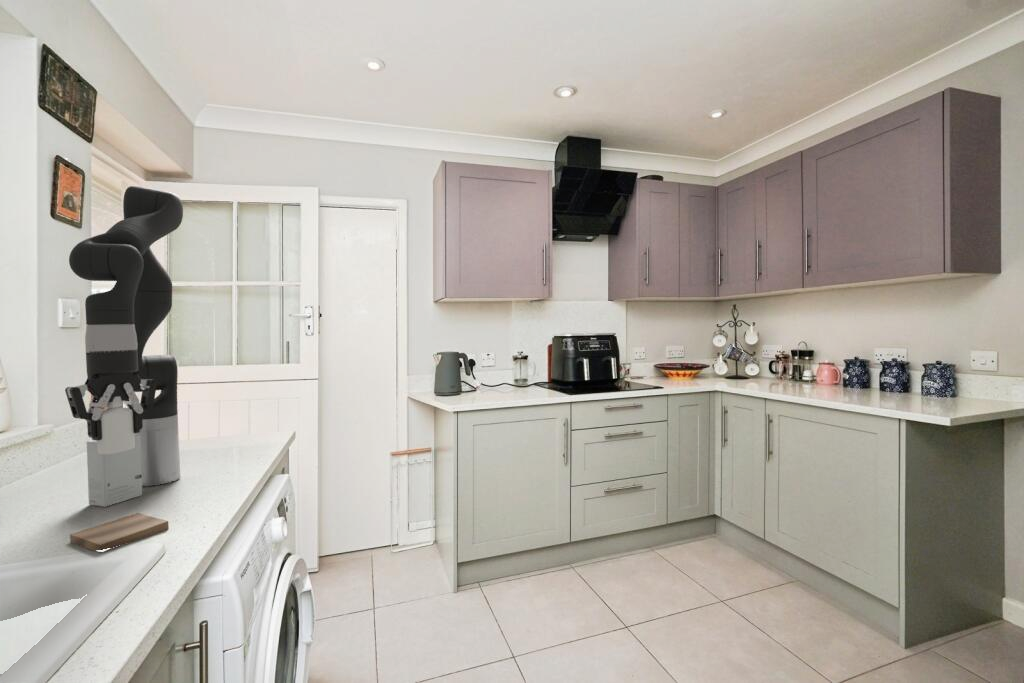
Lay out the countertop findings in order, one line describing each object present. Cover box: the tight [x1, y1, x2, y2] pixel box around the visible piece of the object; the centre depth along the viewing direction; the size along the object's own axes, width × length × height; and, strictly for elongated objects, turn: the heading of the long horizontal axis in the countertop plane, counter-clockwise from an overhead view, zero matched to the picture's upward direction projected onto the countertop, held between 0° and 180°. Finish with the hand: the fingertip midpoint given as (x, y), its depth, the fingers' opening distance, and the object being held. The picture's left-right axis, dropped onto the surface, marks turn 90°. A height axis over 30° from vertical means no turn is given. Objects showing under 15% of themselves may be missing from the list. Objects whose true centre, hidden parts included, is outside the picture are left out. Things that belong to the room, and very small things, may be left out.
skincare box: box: [86, 435, 143, 508], centre depth 109 cm, size 8×6×15 cm
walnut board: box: [69, 512, 169, 551], centre depth 90 cm, size 11×11×2 cm
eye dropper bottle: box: [97, 396, 135, 455], centre depth 89 cm, size 4×6×12 cm
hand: (116, 435), depth 89 cm, fingers closed on eye dropper bottle, 5 cm apart
